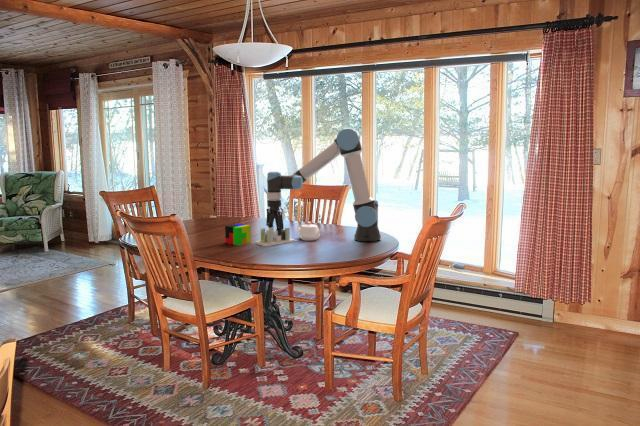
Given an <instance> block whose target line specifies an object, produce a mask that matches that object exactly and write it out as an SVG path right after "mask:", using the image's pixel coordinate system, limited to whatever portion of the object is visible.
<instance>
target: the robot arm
mask: <svg viewBox="0 0 640 426" xmlns="http://www.w3.org/2000/svg"><path fill="white" fill-rule="evenodd" d="M362 151H363V149H362V143H361V135H360V133H359V131H358V130H357V129H355V128H354V127H349V126H348V127H344V128H342V129H340V130H339V132H338V133H337V135H336V138H335V139H334V140H333V142H332V143H331V144H330V145H329V146H328V147H327V148H324V150H322V151H321V152H320V153H318V154H317V155H315V156H314V158H312V159H311V160H309V161H308V162H307V163H306V164H304V165H303V166H301V168H299V169H298V170H297V171H294V173H293V174H291V175H282V173H281V171H268V173H267V174H266V175H267V177H266V178H267V179H266V182H267V183H266V185H267V194H266V195H267V207H268V208H266V223H265V224H266V227H268V230H271V232H272V231H276V241H281V230H282V229H283V230H284V229H285V227H284V218H283V216H284V215H283V214H284V211H283V210H281V209H280V208H281V207H282V190H295V191H296V190H301V189H303V186H304V183H305V182H307V181H308V180H309V179H310V178H312V177H313V176H314V175H315V174H317V173H318V172H320V171H321V170H322V169H324V167H326V166H328V165H329V164H330V163H331V162H332V161H334V160H335V159H337V158H338V157H339V156H341V157H343V158H344V162H345V166H346V169H347V173H348V177H349V181H350V186H351V190H352V195H353V203H352V206H353V211H354V220H355V222H356V223H357V227H356V231H355V233H354V235H353V237H354V239H355V241H356V240H357V241H356V242H360V241H376V242H378V241H377V240H380V239H382V238H381V234H380V233H381V232H380V230H379V201H378V200H376V199H374V198H372V197H371V195H370V191H369V186H368V181H367V178H366V174H365V169H364V166H363V161H362V156H361V153H362ZM274 222H275V226H274ZM275 227H276V229H275ZM380 241H381V240H380Z"/></svg>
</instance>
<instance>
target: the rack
mask: <svg viewBox="0 0 640 426" xmlns="http://www.w3.org/2000/svg"><path fill="white" fill-rule="evenodd" d="M282 230H285V240H281V241H273V242H271V230H269V229H268V230H266V228H264V227H263V228H262V227H261V228H260V234H261V233H265V232H267V243H263V242H261V240H255V241H254V242H255V244H257V245H260V246H262V247H263V248H265V247H269V246H277V245H281V244H283V245H284V244H288V243H289V244H290V243H295V242H296V239H294V238H291V236H290V235H291V234H290V231H291V230H290V227H284V228H283V229H282Z"/></svg>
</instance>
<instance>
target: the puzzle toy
mask: <svg viewBox="0 0 640 426" xmlns="http://www.w3.org/2000/svg"><path fill="white" fill-rule="evenodd" d="M251 227H252V226H251V225H250V224H245V223H244V224H243V223H234V224H230V225H225V226H224V229H225V230H224V231H225V232H224V233H225V235H224V237H225V244H226V243H228V244H227V245H231V244H233V245H232V246H236V245H237V246H236V247H239V246H243V245H246V244H247V245H248V244H250V243H252V232H251V231H252V230H251ZM238 245H239V246H238Z"/></svg>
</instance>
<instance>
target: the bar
mask: <svg viewBox="0 0 640 426" xmlns="http://www.w3.org/2000/svg"><path fill="white" fill-rule="evenodd" d="M281 240H285V229H283V230H281ZM260 241H261V242H263V243H267V231H265V233H261V232H260ZM273 241H276V230H274V231H272V232H271V242H273Z"/></svg>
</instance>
